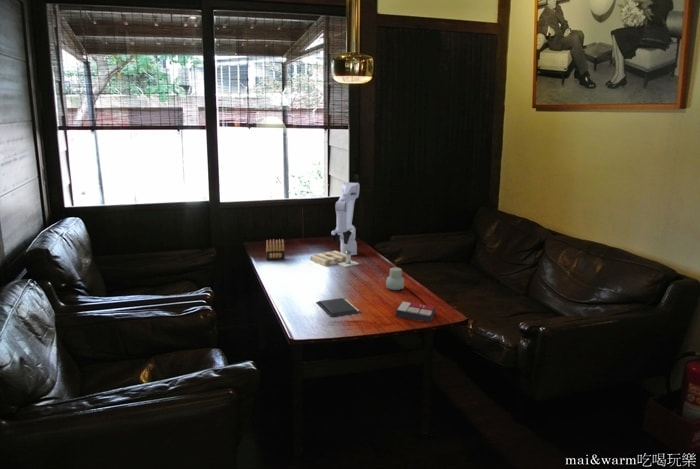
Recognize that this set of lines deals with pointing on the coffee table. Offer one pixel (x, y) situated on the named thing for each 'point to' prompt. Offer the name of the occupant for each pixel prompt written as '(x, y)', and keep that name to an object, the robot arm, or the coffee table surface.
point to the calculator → (415, 311)
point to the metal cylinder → (348, 257)
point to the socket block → (328, 258)
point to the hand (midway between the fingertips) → (341, 245)
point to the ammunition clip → (275, 250)
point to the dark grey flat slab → (338, 307)
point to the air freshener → (395, 279)
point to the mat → (348, 264)
